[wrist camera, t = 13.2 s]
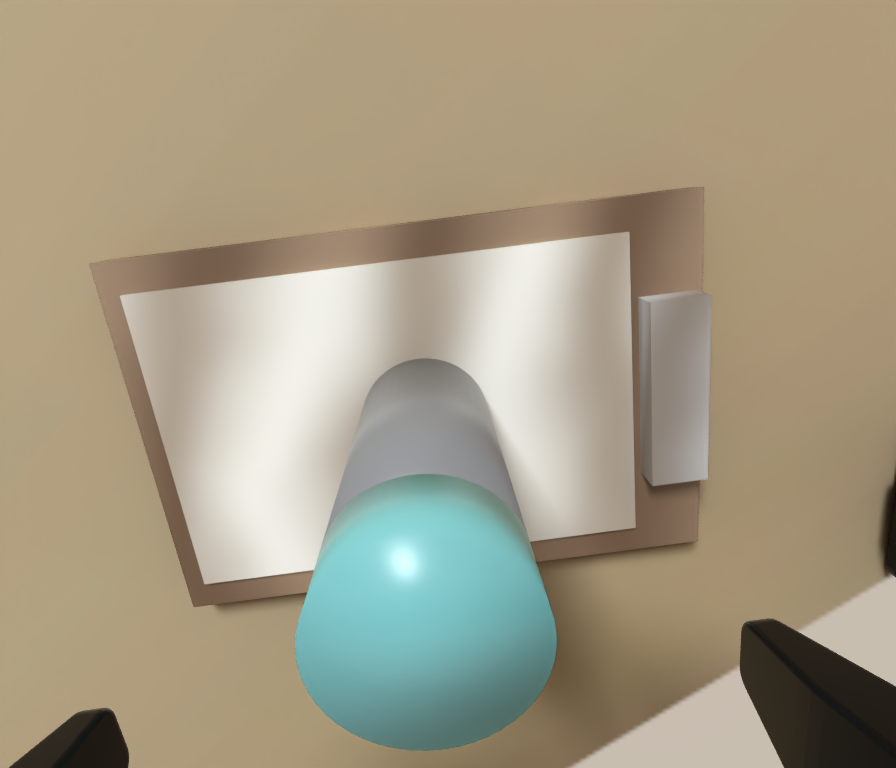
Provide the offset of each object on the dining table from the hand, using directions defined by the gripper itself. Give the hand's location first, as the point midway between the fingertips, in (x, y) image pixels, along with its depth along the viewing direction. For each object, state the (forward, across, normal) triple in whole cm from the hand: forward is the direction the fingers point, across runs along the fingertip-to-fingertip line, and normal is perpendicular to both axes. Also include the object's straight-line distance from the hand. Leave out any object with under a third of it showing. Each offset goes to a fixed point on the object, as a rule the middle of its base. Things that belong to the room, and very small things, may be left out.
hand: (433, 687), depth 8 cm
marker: (+11, 0, 0) cm, 11 cm away
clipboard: (+12, 0, 0) cm, 12 cm away
